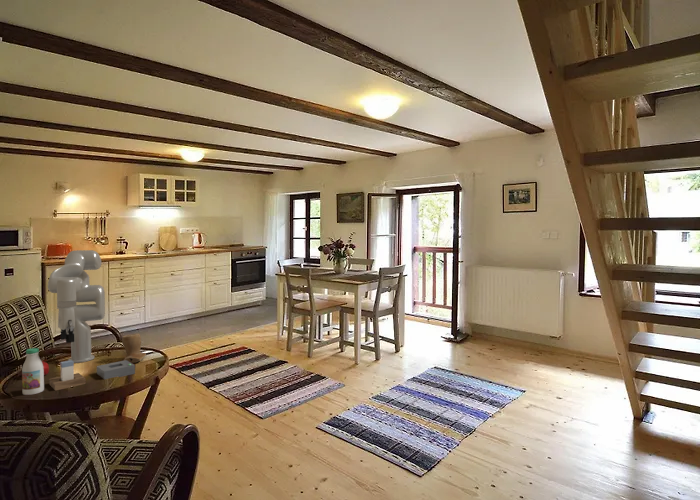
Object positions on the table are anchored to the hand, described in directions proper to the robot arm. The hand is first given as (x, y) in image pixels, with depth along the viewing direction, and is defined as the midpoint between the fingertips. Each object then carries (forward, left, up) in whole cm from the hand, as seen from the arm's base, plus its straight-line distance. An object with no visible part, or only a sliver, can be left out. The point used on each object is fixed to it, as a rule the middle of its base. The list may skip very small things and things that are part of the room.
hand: (67, 340), depth 194 cm
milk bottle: (0, -13, -22) cm, 25 cm away
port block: (0, +21, -21) cm, 30 cm away
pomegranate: (-26, -7, -22) cm, 34 cm away
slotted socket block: (0, 0, -21) cm, 21 cm away
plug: (0, 0, -21) cm, 21 cm away
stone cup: (-19, +36, -22) cm, 46 cm away
